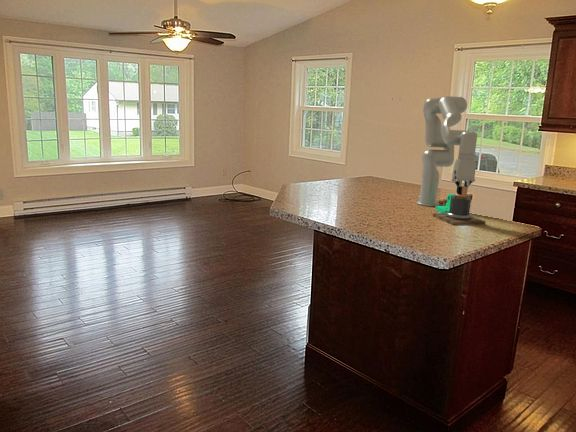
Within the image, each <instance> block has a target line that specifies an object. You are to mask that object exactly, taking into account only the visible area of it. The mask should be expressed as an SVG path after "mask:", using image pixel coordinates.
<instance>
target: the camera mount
mask: <svg viewBox="0 0 576 432" xmlns="http://www.w3.org/2000/svg"><path fill="white" fill-rule="evenodd" d="M451 196H455V193H448V194H447V195H446V204H445V205H438V206H435V210H437V213H439V212H440V213H447V211H449V210H450V201H451Z"/></svg>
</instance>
